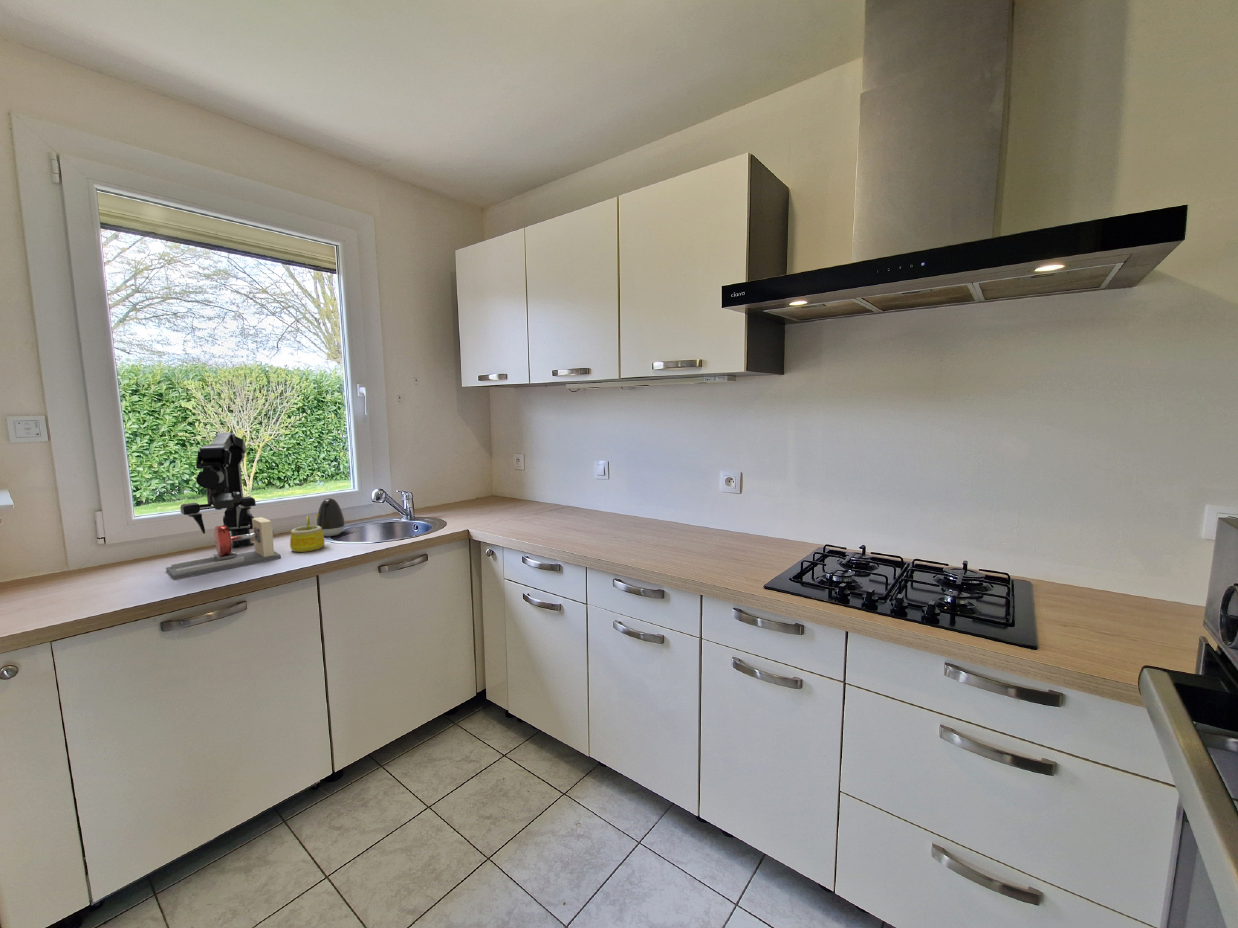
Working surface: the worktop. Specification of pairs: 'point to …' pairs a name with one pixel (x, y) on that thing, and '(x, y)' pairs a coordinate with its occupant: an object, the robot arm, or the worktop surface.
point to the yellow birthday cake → (307, 537)
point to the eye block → (261, 553)
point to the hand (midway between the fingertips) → (221, 530)
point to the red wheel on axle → (227, 542)
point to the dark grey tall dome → (330, 518)
